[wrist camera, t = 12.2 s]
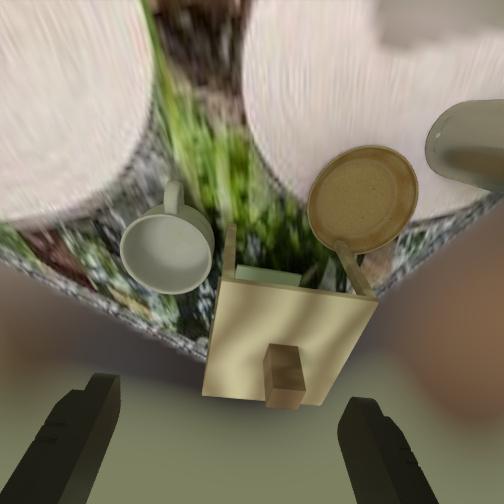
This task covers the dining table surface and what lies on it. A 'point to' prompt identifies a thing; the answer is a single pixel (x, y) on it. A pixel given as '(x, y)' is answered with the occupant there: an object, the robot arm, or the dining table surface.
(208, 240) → the teacup
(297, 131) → the dining table surface
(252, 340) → the small wooden table
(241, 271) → the plate
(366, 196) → the plant saucer
